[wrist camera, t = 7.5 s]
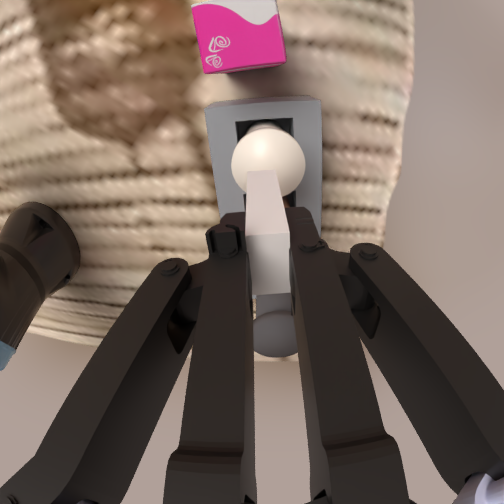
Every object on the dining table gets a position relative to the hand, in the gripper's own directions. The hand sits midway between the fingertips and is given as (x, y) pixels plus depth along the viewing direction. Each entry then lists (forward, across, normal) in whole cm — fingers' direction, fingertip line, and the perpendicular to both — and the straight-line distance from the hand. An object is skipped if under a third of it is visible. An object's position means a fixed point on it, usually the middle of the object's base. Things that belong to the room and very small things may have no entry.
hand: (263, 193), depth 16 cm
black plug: (+10, +1, -14) cm, 17 cm away
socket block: (+17, +1, -7) cm, 18 cm away
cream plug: (+14, +1, 0) cm, 14 cm away
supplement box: (+17, 0, +10) cm, 20 cm away
